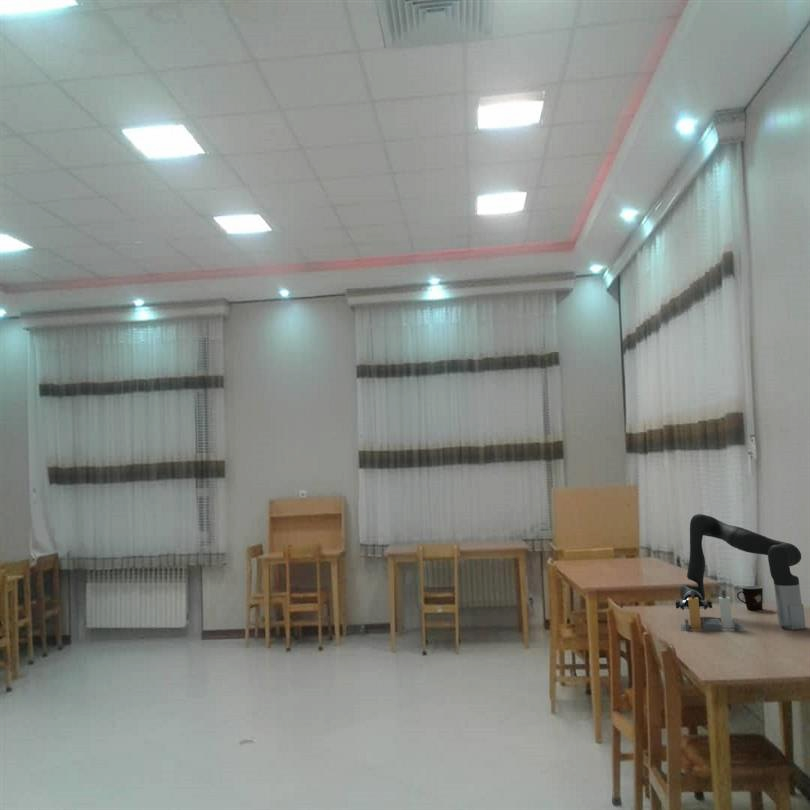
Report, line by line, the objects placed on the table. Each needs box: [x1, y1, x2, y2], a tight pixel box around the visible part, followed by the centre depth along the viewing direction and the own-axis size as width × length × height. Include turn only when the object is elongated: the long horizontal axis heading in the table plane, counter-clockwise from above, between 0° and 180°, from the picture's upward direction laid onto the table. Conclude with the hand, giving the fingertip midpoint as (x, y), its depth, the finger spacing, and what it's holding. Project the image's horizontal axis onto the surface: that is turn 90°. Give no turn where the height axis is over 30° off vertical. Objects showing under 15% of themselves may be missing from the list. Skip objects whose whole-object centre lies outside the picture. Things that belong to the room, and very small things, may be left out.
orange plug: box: [688, 591, 702, 629], centre depth 313 cm, size 4×4×15 cm
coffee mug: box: [736, 585, 764, 612], centre depth 346 cm, size 12×9×10 cm
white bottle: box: [718, 589, 734, 629], centre depth 309 cm, size 4×4×15 cm
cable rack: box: [680, 618, 745, 632], centre depth 310 cm, size 24×12×4 cm, turn 70°
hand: (693, 607), depth 311 cm, fingers open, 8 cm apart
